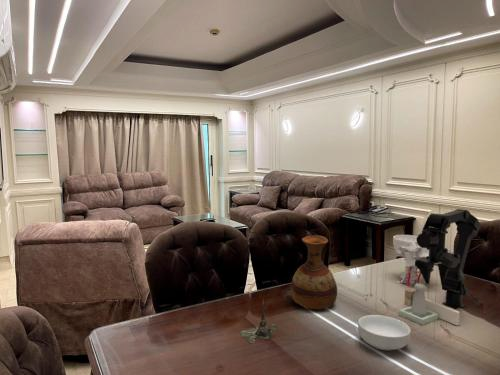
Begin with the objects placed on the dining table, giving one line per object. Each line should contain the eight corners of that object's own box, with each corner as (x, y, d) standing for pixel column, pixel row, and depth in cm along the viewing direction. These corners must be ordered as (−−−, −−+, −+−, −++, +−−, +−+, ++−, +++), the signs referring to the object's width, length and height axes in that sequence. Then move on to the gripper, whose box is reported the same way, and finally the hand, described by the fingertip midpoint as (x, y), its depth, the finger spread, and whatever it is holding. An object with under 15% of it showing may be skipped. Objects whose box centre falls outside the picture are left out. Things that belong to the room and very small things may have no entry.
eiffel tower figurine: (273, 324, 139) (274, 290, 138) (288, 336, 130) (288, 299, 129) (237, 332, 133) (238, 296, 132) (250, 345, 124) (251, 306, 123)
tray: (414, 310, 154) (414, 305, 154) (438, 319, 146) (438, 314, 145) (398, 315, 149) (398, 310, 149) (422, 325, 140) (422, 319, 140)
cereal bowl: (404, 363, 113) (406, 341, 113) (351, 348, 122) (352, 327, 121) (413, 341, 128) (414, 321, 127) (364, 329, 136) (365, 310, 136)
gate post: (409, 303, 162) (409, 288, 161) (414, 305, 159) (415, 290, 159) (404, 304, 160) (405, 289, 160) (410, 307, 158) (410, 291, 157)
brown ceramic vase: (284, 308, 154) (286, 237, 152) (297, 292, 172) (299, 229, 170) (332, 316, 146) (334, 242, 144) (339, 299, 165) (342, 233, 163)
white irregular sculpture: (382, 277, 197) (384, 235, 195) (411, 275, 203) (413, 234, 201) (415, 294, 173) (418, 246, 172) (448, 290, 179) (450, 244, 177)
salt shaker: (425, 320, 143) (427, 287, 142) (409, 316, 146) (411, 284, 145) (427, 315, 148) (429, 283, 147) (412, 311, 151) (413, 280, 150)
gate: (413, 305, 159) (414, 294, 158) (459, 324, 141) (459, 311, 140) (411, 306, 158) (411, 294, 158) (456, 325, 140) (457, 312, 140)
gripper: (440, 251, 138) (437, 292, 139) (470, 247, 146) (468, 285, 147) (414, 245, 148) (412, 283, 149) (445, 241, 156) (442, 277, 157)
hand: (434, 282), depth 150 cm, fingers open, 9 cm apart
